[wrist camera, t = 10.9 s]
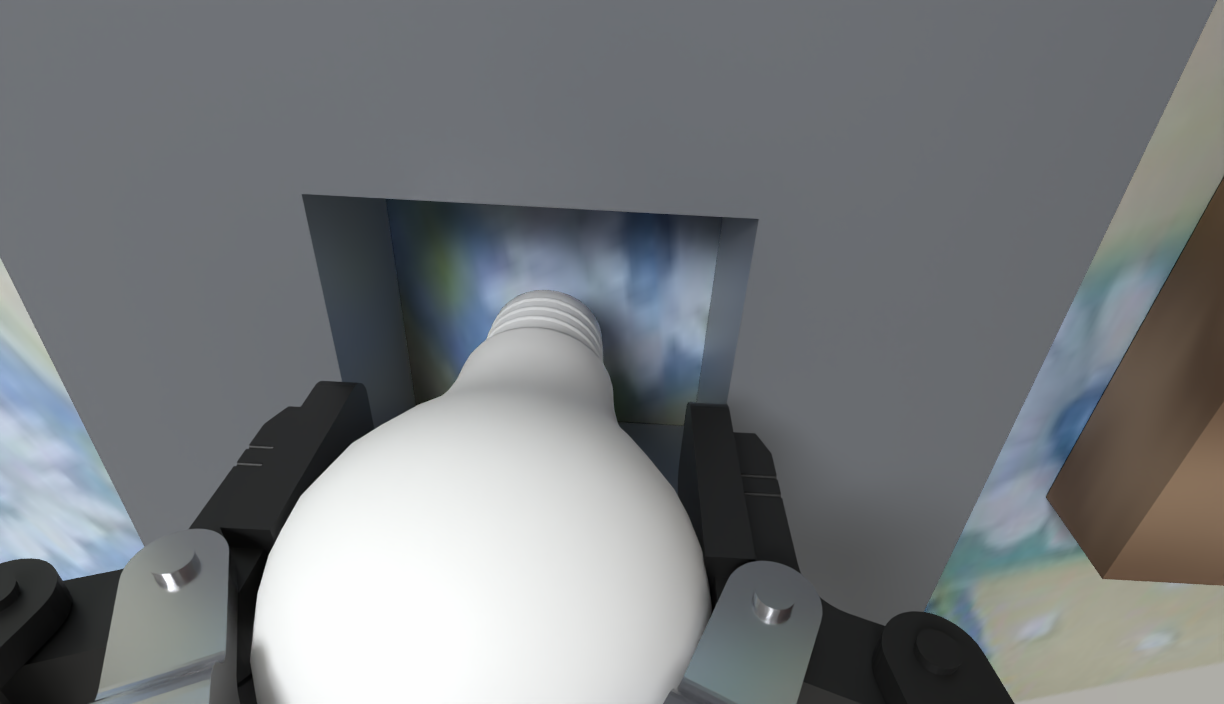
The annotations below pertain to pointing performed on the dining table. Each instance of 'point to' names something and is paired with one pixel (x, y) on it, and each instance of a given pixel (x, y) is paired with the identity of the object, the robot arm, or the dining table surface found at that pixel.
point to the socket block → (593, 180)
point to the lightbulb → (489, 545)
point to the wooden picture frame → (1159, 435)
